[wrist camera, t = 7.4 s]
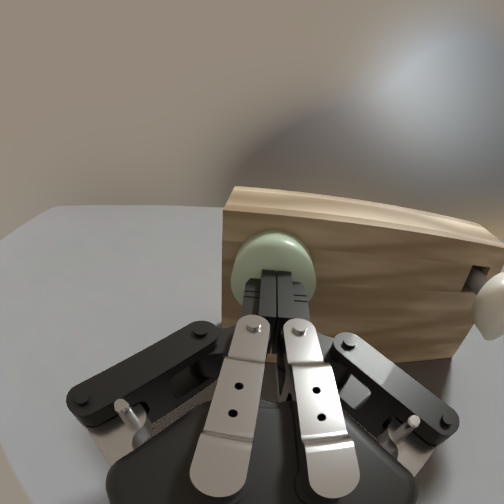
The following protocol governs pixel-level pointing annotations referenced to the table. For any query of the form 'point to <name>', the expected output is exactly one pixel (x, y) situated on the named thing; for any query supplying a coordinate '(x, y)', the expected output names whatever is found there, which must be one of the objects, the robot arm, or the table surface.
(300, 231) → the light wood rectangular block
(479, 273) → the button white
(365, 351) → the robot arm
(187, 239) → the table surface
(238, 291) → the button sage
